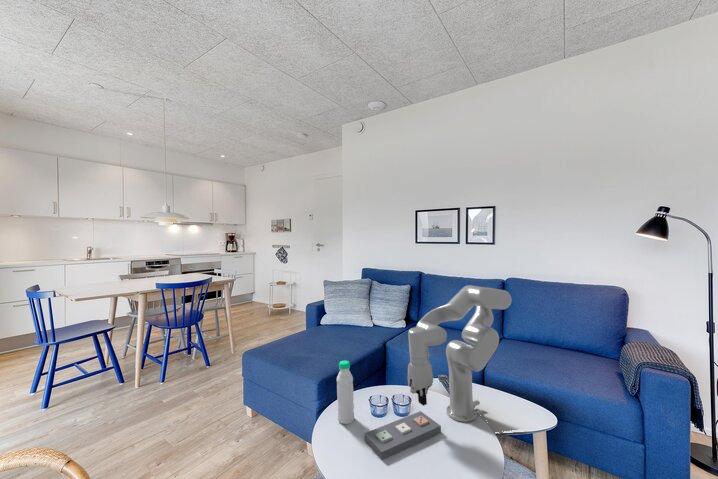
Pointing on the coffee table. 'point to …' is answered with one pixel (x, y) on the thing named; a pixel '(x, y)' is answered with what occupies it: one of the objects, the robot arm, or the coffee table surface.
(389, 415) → the coffee table surface
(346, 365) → the water bottle
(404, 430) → the one pip key
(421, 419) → the three pip key
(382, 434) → the two pip key
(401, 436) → the key board
